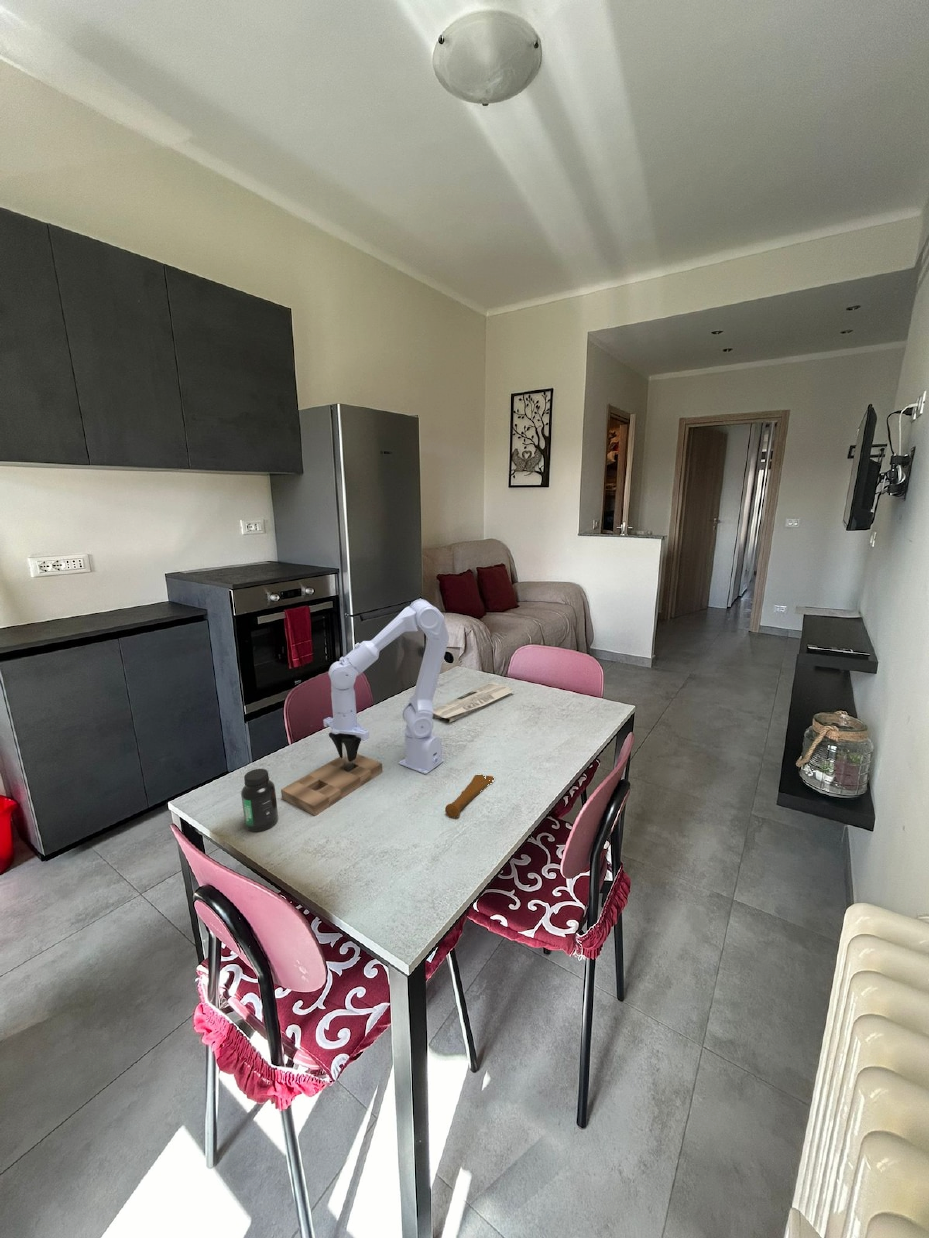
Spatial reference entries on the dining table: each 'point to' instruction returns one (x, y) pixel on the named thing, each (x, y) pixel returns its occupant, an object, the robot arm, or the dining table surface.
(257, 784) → the supplement bottle
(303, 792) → the tool stand
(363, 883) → the dining table surface
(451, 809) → the primitive tool
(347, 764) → the steel peg
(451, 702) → the newspaper
